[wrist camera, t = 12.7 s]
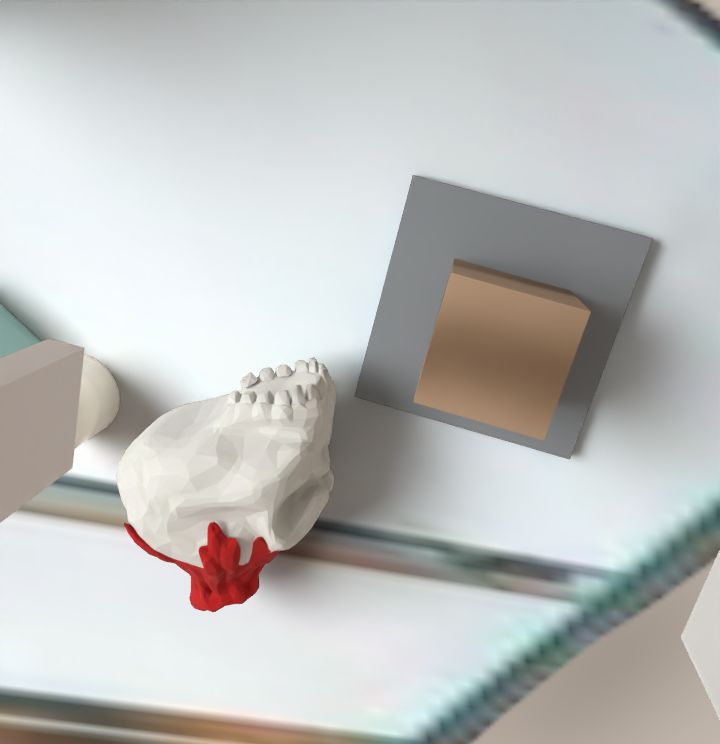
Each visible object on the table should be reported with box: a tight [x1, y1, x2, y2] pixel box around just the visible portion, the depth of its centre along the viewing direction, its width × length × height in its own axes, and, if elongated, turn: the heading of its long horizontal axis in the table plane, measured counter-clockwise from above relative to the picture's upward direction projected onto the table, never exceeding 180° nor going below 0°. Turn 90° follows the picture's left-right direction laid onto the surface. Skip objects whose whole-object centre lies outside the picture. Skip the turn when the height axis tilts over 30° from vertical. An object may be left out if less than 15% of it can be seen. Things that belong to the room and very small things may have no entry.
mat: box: [354, 175, 653, 459], centre depth 35 cm, size 12×12×1 cm
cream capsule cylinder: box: [74, 355, 120, 449], centre depth 38 cm, size 5×5×6 cm
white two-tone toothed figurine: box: [116, 358, 336, 612], centre depth 36 cm, size 9×11×15 cm
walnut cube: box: [413, 259, 591, 441], centre depth 32 cm, size 6×6×6 cm
